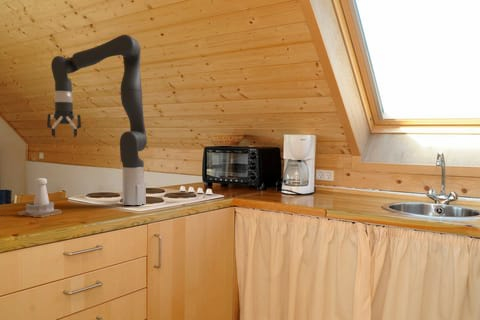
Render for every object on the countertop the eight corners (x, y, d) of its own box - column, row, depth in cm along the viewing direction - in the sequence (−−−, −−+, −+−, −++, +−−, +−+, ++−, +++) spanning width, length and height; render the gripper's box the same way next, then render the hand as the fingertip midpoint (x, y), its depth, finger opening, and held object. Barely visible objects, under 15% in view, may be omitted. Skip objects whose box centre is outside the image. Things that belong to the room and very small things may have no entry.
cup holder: (61, 212, 162) (61, 202, 162) (40, 217, 153) (40, 206, 152) (39, 210, 166) (39, 200, 166) (18, 214, 157) (17, 204, 157)
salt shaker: (30, 211, 159) (29, 178, 158) (41, 208, 164) (41, 177, 163) (41, 212, 157) (40, 179, 156) (52, 209, 162) (52, 177, 161)
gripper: (79, 102, 189) (80, 137, 190) (46, 101, 182) (46, 137, 184) (81, 101, 182) (82, 137, 184) (46, 100, 176) (47, 137, 177)
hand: (64, 137), depth 184 cm, fingers open, 8 cm apart
